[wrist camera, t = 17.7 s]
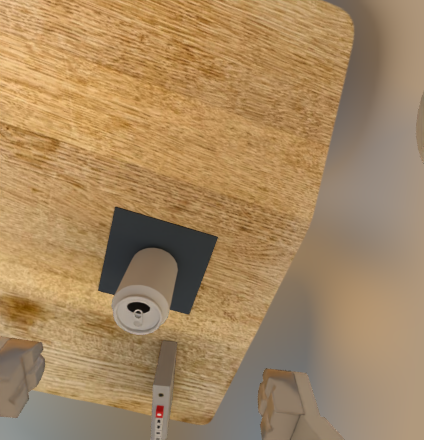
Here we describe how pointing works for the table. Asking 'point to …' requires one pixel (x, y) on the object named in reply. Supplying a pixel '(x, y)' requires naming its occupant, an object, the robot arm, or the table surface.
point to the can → (145, 292)
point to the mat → (162, 239)
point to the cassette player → (163, 390)
